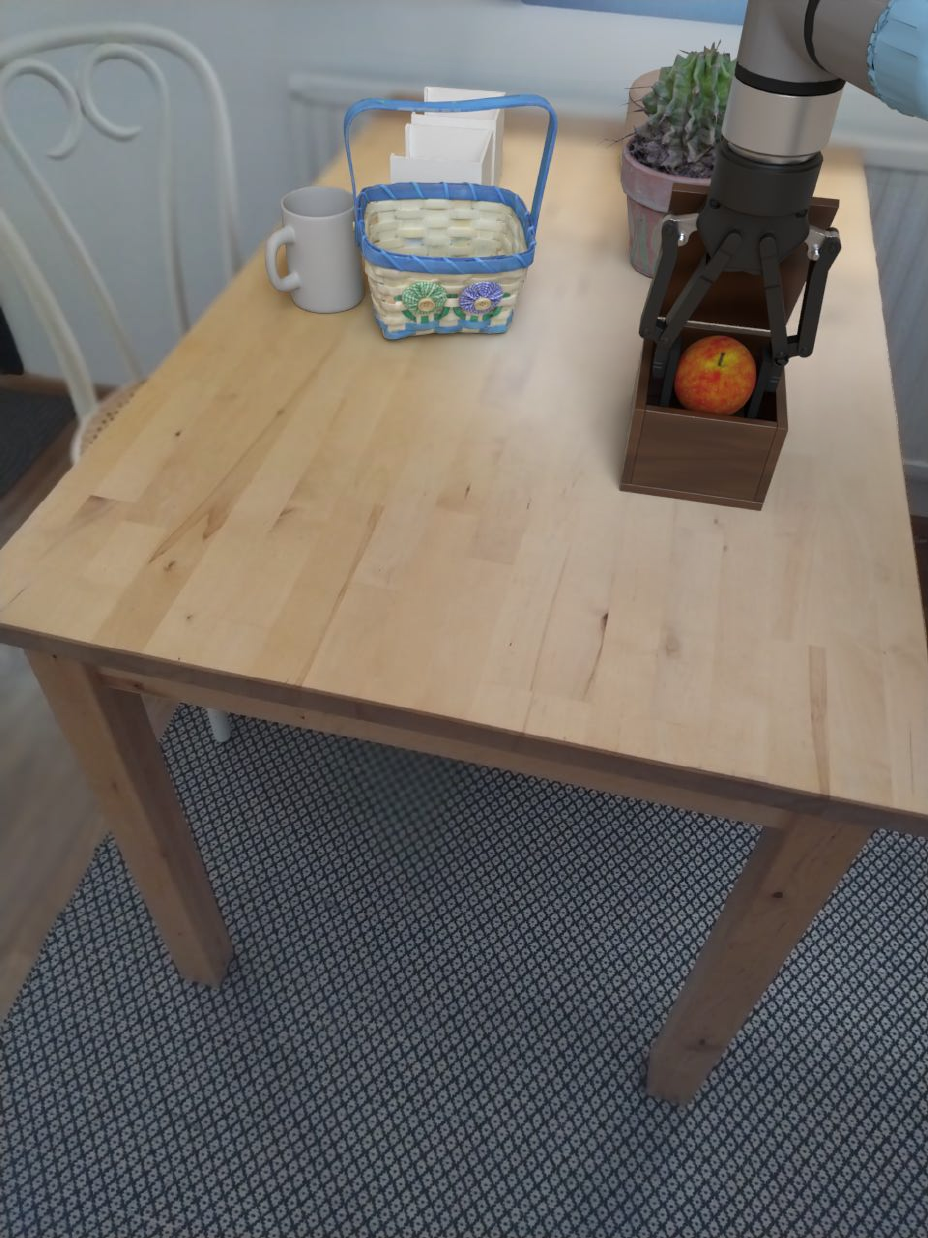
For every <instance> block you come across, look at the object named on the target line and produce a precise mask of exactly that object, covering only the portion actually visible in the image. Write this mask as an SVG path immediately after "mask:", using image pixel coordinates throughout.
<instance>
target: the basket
mask: <svg viewBox="0 0 928 1238" xmlns="http://www.w3.org/2000/svg"><path fill="white" fill-rule="evenodd" d="M520 107H539V108H542V109H545V110H546V111H548V114H549V120H548V125H547V131H546V137H545V141H544V146H543V151H542V156H541V161H540V165H539V169H538V174H537V179H536V184H535V188H534V194H533V198H532V202H531V208H530V212H529V210H528V207H527V206H526V203H525V202H524V201H523V199H522V198H521V197H520V195H519V194H518V193H515V192H514V191H512V190H511V189H508V188H504V187H500V186H498V187H496V186H486V185H479V184H475V183H468V182H463V183H445V182H439V183H420V182H409V183H395V184H391V183H385V184H383V183H377V184H375V185H371V186H366V187H362V188H361V190H360V191H359V193H358V194H357V190H356V189H357V188H356V181H355V175H354V169H353V162H352V156H351V149H350V142H349V141H350V140H349V131H350V125H351V123H352V121H353V120H354V118H356V116H357V115H359V114H360V113H363V112H365V111H370V110H383V111H394V112H395V111H396V112H409V113H412V112H416V113H424V112H435V113H457V112H472V111H483V110H491V109H500V108H505V109H509V108H520ZM557 133H558V117H557V114H556V111H555V109H554V108H553V107H552V105H551V103H550V102H549V101H548V100H547V99H546V98H545V97H542V96H540V95H539V94H533V93H523V94H522V93H520V94H519V93H518V94H511V95H510V94H509V95H505V96H500V97H490V98H482V99H472V100H461V101H443V102H424V101H421V100H420V101H418V100H417V101H416V100H404V99H393V98H379V97H368V98H362V99H359V100H358V101H355V102H354V103H353V104H351V106H349V107H348V109H347V110H346V112H345V115H344V118H343V136H344V144H345V150H346V157H347V162H348V170H349V175H350V181H351V190H352V194H353V199H354V212H355V222H353V224H352V226H353V231H354V232H355V242H356V246H357V247H359V245H360V248H361V255H362V256H363V258H364V272H365V274H366V276H367V281H368V286H369V289H370V290H369V295H371V300H372V305H373V308H374V309H373V311H374V315H375V317H376V318H375V319H376V322H377V325H378V327H379V328H380V329H381V331H382V335H383V337H384V338H386V339H387V340H399V339H406V338H407V337H411V336H421V335H422V336H423V335H429V334H434V333H436V334H456V333H467V334H468V333H469V334H483V333H485V334H502V333H506V332H508V331H509V327H510V324H511V323H512V322H513V318H514V317H513V316H514V308H516V305H517V301H518V296H519V294H521V293H522V291H523V289H524V285H525V284H524V283H525V279H526V278H527V274H528V273H527V272H528V269H529V267H530V266H531V265H532V264H533V263H534V261H535V260H534V259H535V254H536V253H535V251H536V246H537V243H538V242H537V240H536V235H537V229H538V224H539V218H540V214H541V208H542V203H543V199H544V194H545V189H546V187H547V186H546V185H547V180H548V176H549V171H550V167H551V163H552V159H553V153H554V149H555V143H556V139H557ZM372 202H373V203H372ZM420 208H423V209H422V210H420ZM471 209H475V210H471ZM366 215H367V216H366ZM394 218H399V220H398V219H396V220H395V219H394ZM376 219H377V223H373V224H371V222H373V221H374V220H376ZM478 219H479V220H478ZM370 224H371V225H370Z"/></svg>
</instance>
